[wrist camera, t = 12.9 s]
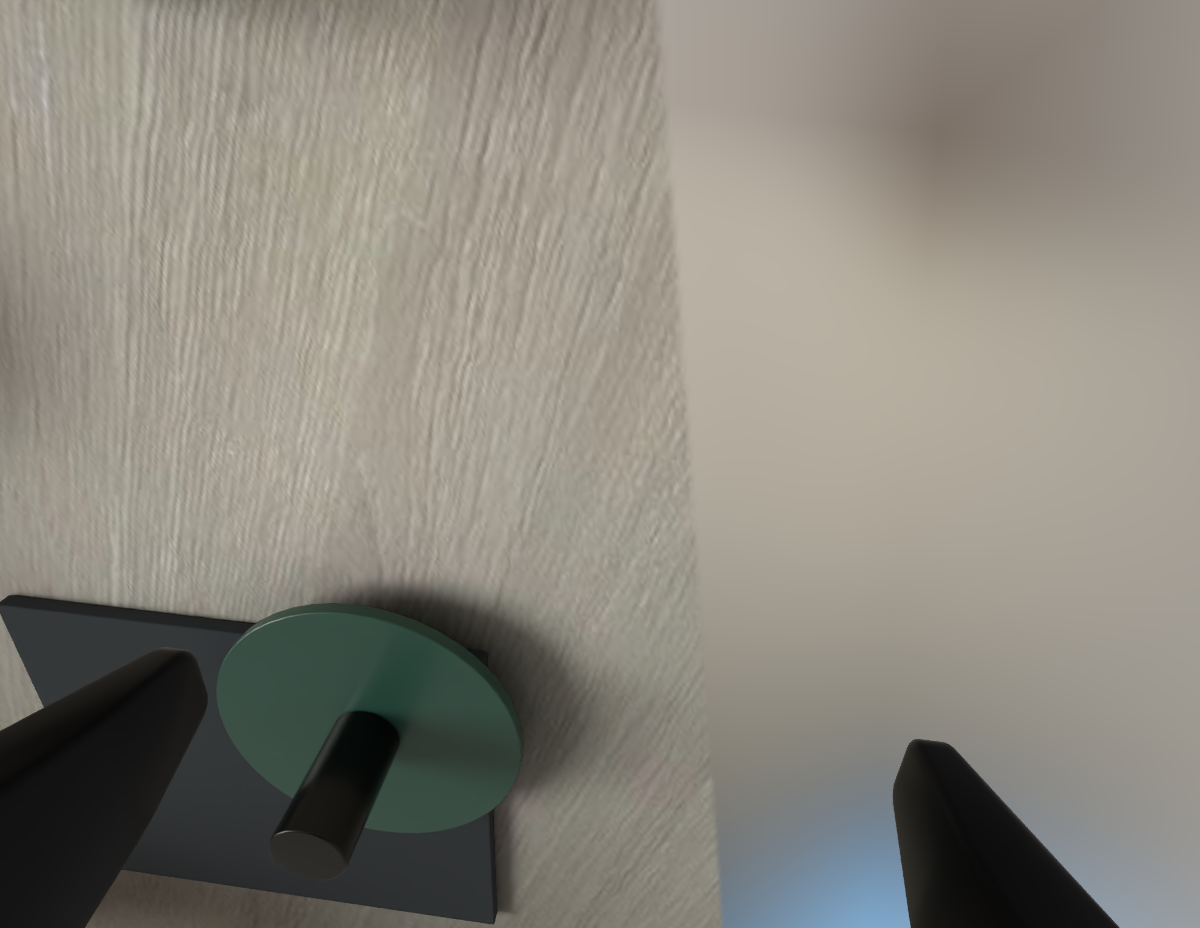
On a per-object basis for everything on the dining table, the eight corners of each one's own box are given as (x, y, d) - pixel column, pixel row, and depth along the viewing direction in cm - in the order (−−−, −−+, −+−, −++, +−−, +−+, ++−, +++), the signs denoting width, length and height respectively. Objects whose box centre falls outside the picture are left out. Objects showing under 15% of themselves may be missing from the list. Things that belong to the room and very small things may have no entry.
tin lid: (526, 610, 23) (482, 755, 18) (527, 824, 28) (493, 981, 23) (203, 574, 24) (76, 702, 19) (263, 788, 29) (176, 933, 24)
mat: (487, 651, 25) (483, 663, 24) (497, 911, 32) (494, 925, 32) (8, 594, 26) (-6, 604, 25) (127, 857, 34) (118, 869, 33)
